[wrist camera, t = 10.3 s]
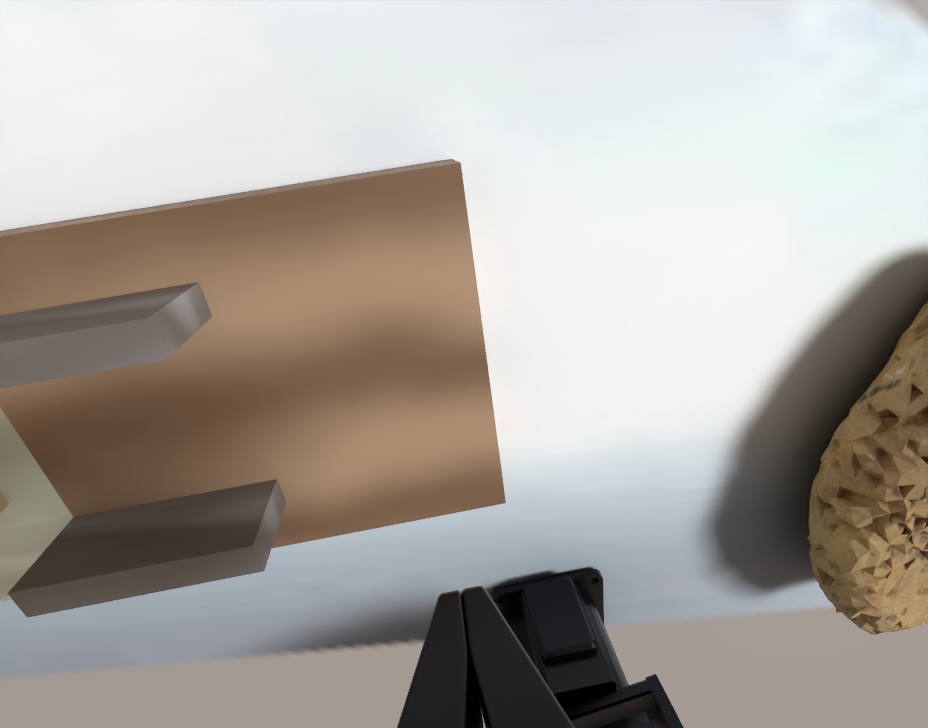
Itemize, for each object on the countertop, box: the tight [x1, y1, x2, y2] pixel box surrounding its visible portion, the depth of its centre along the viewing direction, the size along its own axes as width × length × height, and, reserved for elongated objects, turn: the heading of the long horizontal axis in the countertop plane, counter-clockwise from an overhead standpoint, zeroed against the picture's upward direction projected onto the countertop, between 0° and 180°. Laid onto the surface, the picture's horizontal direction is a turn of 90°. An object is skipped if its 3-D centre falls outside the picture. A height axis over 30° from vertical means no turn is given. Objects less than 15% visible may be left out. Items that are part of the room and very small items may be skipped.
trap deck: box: [0, 159, 506, 617], centre depth 17 cm, size 14×35×6 cm, turn 98°
